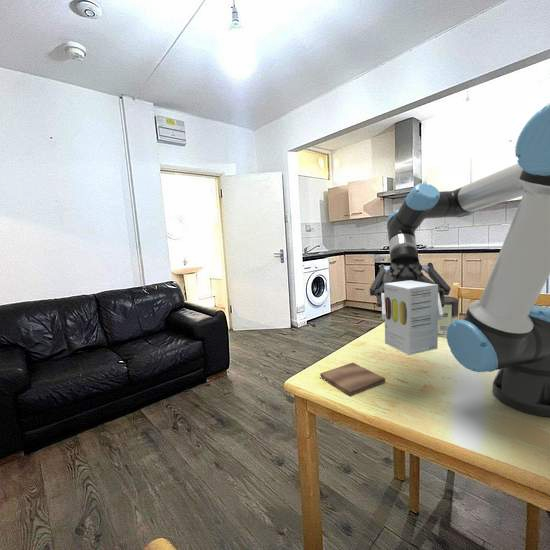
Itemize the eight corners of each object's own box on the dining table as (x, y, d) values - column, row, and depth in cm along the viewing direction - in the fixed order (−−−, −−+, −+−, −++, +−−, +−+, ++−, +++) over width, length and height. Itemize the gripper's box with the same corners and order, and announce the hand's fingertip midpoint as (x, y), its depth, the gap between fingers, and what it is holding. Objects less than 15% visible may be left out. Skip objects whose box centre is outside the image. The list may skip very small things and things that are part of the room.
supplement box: (383, 343, 82) (382, 283, 80) (410, 338, 85) (410, 279, 83) (409, 355, 73) (409, 288, 71) (439, 349, 76) (439, 283, 74)
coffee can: (449, 328, 126) (449, 295, 124) (464, 336, 116) (464, 300, 114) (424, 329, 126) (424, 296, 124) (437, 338, 116) (437, 302, 114)
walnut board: (385, 382, 85) (384, 378, 85) (350, 396, 79) (350, 391, 79) (353, 365, 97) (352, 362, 97) (320, 377, 91) (320, 373, 90)
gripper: (447, 259, 88) (463, 325, 75) (360, 262, 95) (361, 323, 82) (453, 241, 82) (470, 309, 69) (359, 246, 89) (360, 309, 77)
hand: (411, 317), depth 76 cm, fingers closed on supplement box, 12 cm apart
